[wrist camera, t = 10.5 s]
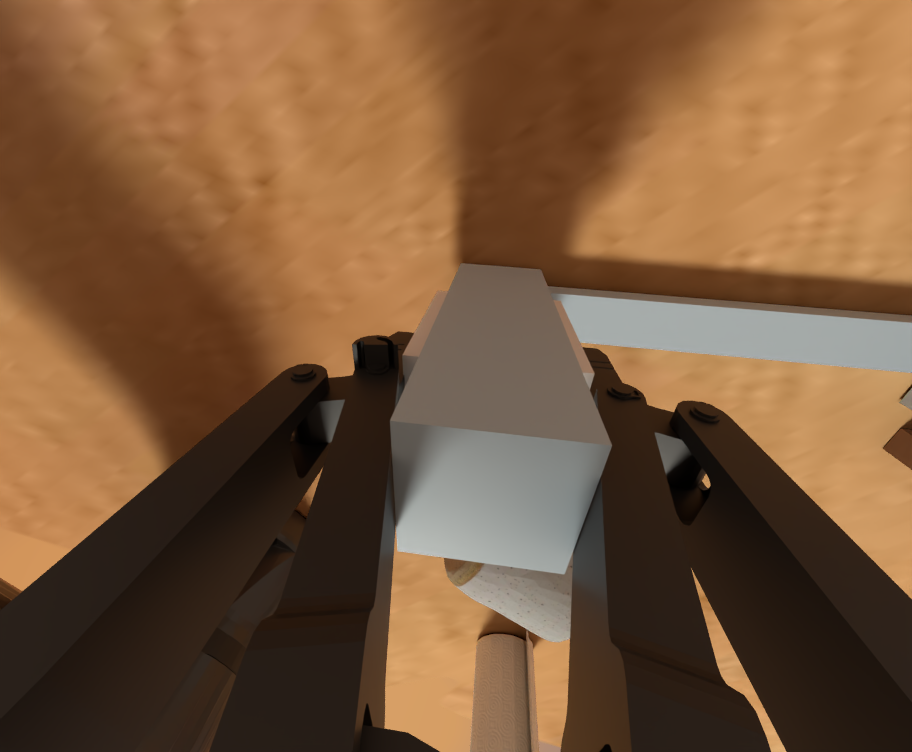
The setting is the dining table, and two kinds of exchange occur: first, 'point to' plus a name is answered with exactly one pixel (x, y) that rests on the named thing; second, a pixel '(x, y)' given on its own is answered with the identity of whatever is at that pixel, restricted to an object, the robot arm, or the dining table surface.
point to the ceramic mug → (519, 594)
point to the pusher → (564, 401)
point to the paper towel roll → (504, 696)
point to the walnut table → (901, 446)
